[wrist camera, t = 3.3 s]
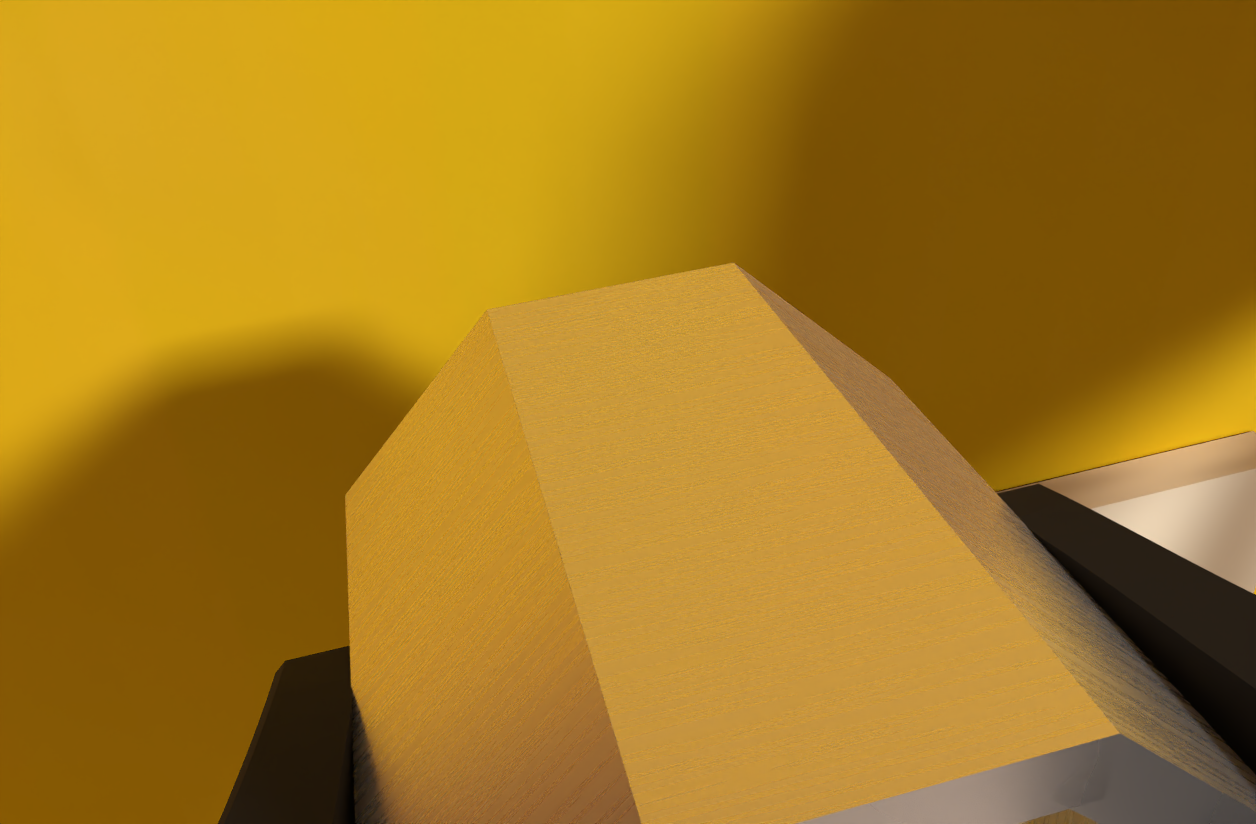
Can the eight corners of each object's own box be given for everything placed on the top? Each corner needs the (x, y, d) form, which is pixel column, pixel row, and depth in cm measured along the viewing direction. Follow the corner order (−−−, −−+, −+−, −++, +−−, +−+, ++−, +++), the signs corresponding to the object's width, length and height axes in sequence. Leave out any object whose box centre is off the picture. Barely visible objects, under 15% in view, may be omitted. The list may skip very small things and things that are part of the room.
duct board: (1253, 430, 20) (1493, 601, 16) (1161, 775, 26) (1323, 970, 22) (533, 602, 18) (597, 850, 14) (596, 940, 24) (656, 1192, 19)
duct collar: (898, 231, 11) (1412, 652, 6) (877, 653, 14) (1196, 1166, 9) (301, 345, 10) (277, 968, 5) (425, 768, 13) (490, 1413, 8)
